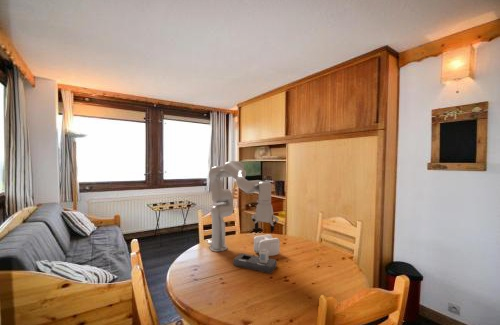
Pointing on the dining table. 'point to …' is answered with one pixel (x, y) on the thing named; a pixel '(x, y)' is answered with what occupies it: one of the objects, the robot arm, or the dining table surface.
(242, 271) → the dining table surface
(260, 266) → the jack panel
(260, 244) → the cable organizer
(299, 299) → the dining table surface
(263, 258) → the plug
